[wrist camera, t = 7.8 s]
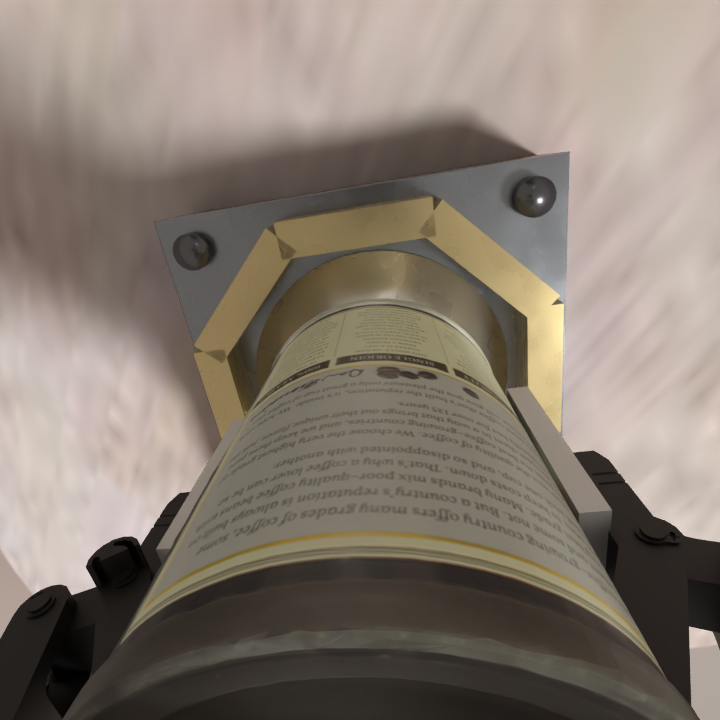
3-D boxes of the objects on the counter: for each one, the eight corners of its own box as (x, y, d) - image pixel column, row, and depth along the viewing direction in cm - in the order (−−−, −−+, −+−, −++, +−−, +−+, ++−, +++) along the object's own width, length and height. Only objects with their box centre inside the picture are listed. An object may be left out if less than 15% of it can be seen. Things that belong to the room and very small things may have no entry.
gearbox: (189, 214, 23) (132, 226, 18) (537, 155, 21) (588, 149, 16) (269, 484, 30) (245, 550, 25) (537, 457, 28) (573, 523, 23)
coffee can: (529, 454, 20) (794, 964, 7) (331, 523, 22) (262, 1007, 9) (446, 250, 17) (671, 519, 4) (222, 354, 19) (-129, 754, 6)
